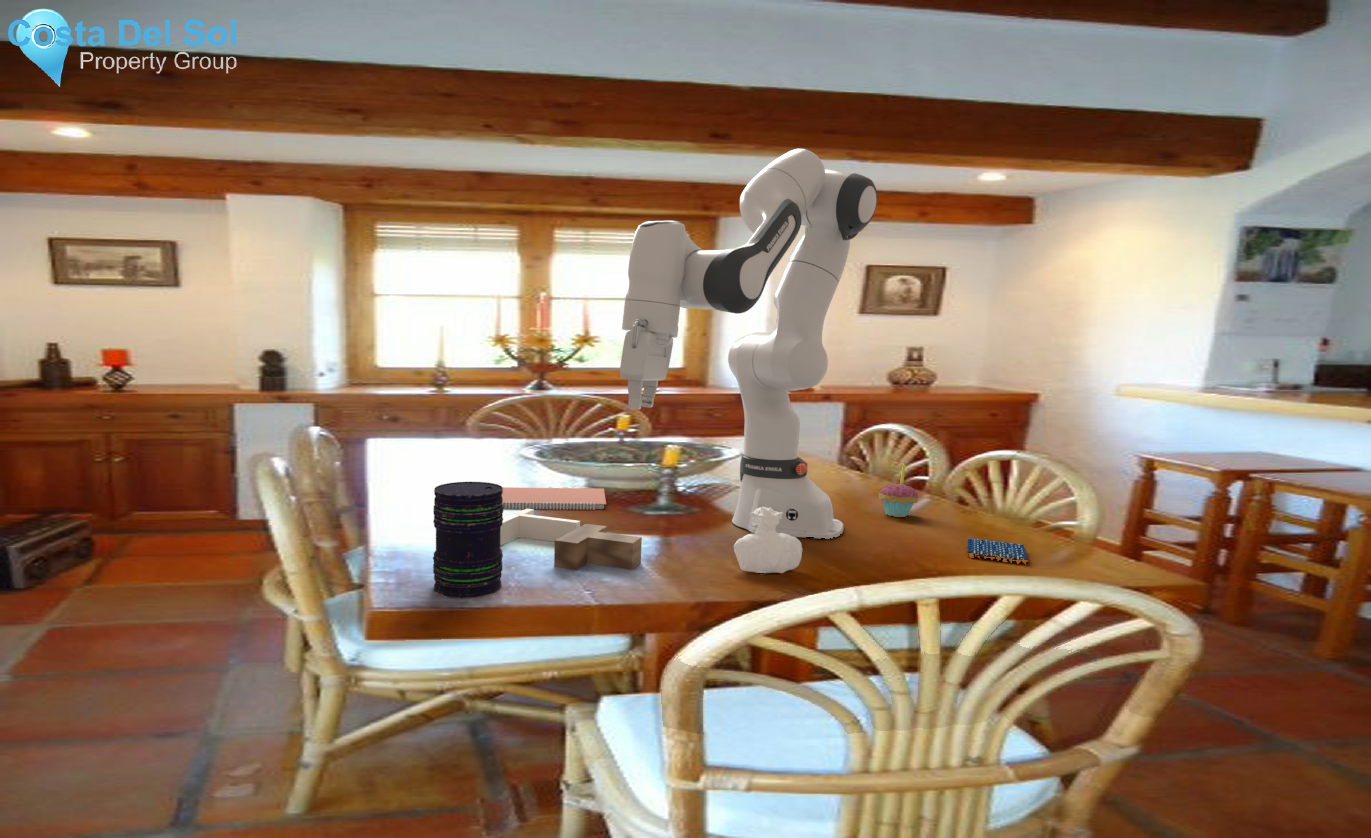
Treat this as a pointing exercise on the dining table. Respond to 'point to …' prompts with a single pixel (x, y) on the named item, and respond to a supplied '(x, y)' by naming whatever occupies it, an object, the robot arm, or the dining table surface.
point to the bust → (767, 546)
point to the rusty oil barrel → (468, 539)
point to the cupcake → (898, 497)
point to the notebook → (553, 498)
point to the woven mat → (996, 549)
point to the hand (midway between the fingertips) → (640, 408)
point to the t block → (597, 549)
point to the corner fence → (535, 527)
